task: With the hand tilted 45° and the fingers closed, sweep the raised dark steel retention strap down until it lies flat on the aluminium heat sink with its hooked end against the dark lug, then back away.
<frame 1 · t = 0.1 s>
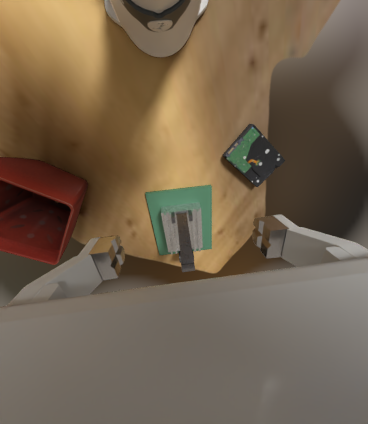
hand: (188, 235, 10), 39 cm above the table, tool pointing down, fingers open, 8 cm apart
plant pot: (59, 189, 48), on the table
circuit board: (182, 223, 57), on the table
heat sink: (182, 224, 56), resting on circuit board
disk drive: (251, 156, 48), on the table
retention strap: (184, 239, 44), point 13 cm above the table, hinge at 70.0°
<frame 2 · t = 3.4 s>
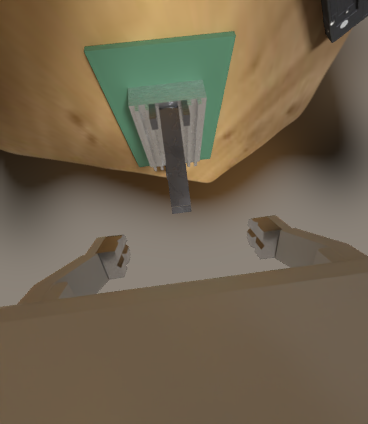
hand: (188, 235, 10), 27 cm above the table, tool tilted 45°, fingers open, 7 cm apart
circuit board: (169, 121, 34), on the table
heat sink: (170, 124, 34), resting on circuit board
retention strap: (175, 161, 27), point 13 cm above the table, hinge at 70.0°
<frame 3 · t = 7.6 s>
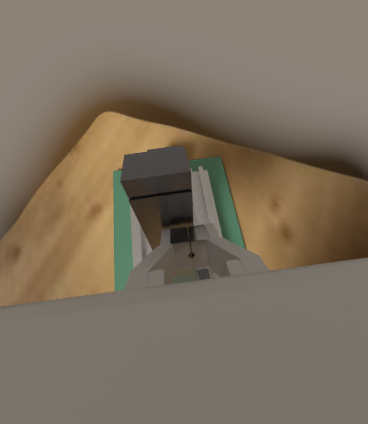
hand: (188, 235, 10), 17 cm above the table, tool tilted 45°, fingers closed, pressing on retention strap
circuit board: (177, 233, 27), on the table
heat sink: (176, 232, 26), resting on circuit board
retention strap: (175, 246, 14), point 13 cm above the table, hinge at 69.9°, touching gripper
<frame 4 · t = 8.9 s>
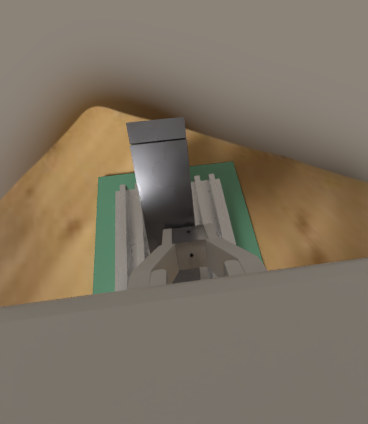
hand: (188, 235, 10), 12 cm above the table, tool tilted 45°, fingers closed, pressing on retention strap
circuit board: (178, 260, 21), on the table
heat sink: (178, 259, 20), resting on circuit board
retention strap: (175, 254, 12), point 10 cm above the table, hinge at 35.6°, touching gripper
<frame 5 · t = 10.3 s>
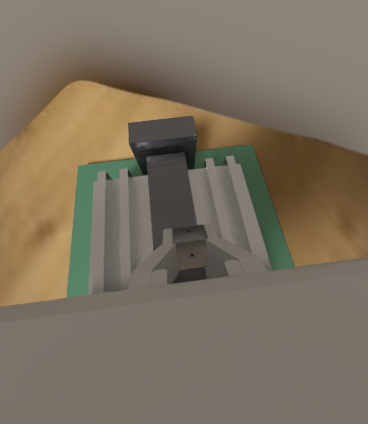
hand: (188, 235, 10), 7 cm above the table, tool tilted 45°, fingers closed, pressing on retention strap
circuit board: (182, 274, 15), on the table
heat sink: (182, 275, 15), resting on circuit board
retention strap: (179, 264, 11), point 5 cm above the table, hinge at -0.4°, touching gripper, heat sink
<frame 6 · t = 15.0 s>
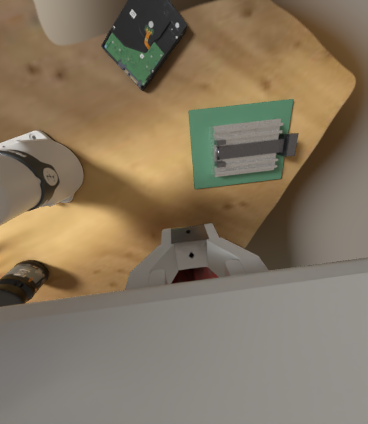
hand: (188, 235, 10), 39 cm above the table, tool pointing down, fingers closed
plant pot: (188, 251, 60), on the table
circuit board: (238, 147, 46), on the table
heat sink: (239, 148, 45), resting on circuit board
disk drive: (145, 42, 35), on the table
supplement container: (34, 270, 58), on the table
retention strap: (249, 149, 41), point 5 cm above the table, hinge at -0.4°, touching heat sink
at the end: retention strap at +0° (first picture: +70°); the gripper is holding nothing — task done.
